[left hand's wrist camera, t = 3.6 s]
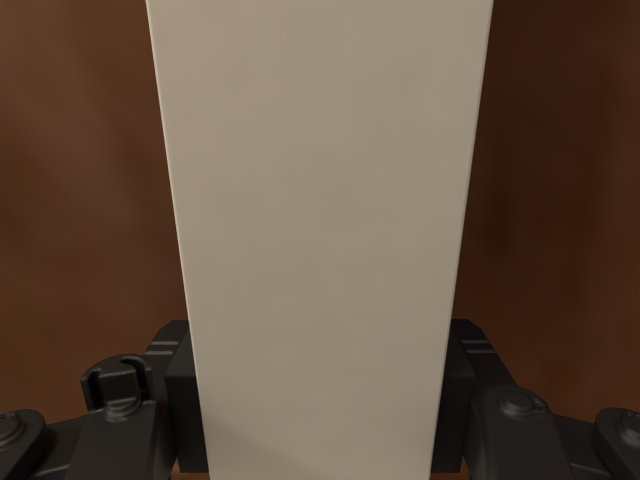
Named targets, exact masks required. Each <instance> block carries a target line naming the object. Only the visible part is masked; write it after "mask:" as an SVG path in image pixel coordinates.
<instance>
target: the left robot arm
mask: <svg viewBox="0 0 640 480" xmlns="http://www.w3.org/2000/svg"><path fill="white" fill-rule="evenodd" d="M80 382H81V386H82V390H83V394H84V397H85V401H86V405H87V409H88V415H85V416H82V417H78V418H75V419H71V420H66V421H62V422H58V423H53V424H49V425H46V423H45V420H44V417H43V415H41V414H40V413H39V412H38V411H35V410H29V409H23V410H16V411H11V412H8V413H5V414H2V415H0V480H171V471H172V468H173V466H174V463H175V460H176V458H177V456H178V462H179V468H180V473H209V467H208V460H207V452H206V445H205V437H204V430H203V422H202V415H201V407H200V400H199V393H198V385H197V378H196V370H195V363H194V355H193V348H192V340H191V333H190V325H189V320H172V321H171V322H170V323H168V324H167V325H166V326H164V327H163V328H162V329H160V330H159V331H158V333H157V334H156V336H155V337H154V339H153V340H152V342H151V345H149V347H148V348H147V350H146V351H145V355H143V356H141V355H137V354H121V355H117V356H113V357H109V358H107V359H105V360H102V361H100V362H98V363H96V364H95V365H93V366H92V367H91V368H89V369H88V370H87V371H86V372H85V373H84V375H83V376H82V377H81V379H80ZM462 455H463V456H464V459H465V462H466V464H467V467H468V470H469V472H470V474H469V480H640V413H637V412H634V411H631V410H629V409H622V408H615V407H613V408H607V409H603V410H601V411H600V412H599V413H598V414H597V416H596V419H595V422H594V423H589V422H585V421H581V420H576V419H572V418H568V417H564V416H560V415H557V414H554V413H552V411H551V410H550V408H549V407H548V405H547V404H546V402H545V401H543V400H542V399H541V398H540V397H539V396H537V395H536V394H534V393H532V392H531V391H529V390H527V389H525V388H521V387H518V385H517V384H516V382H515V381H514V379H513V378H512V376H511V375H510V373H509V371H508V370H507V368H506V367H505V365H504V364H503V362H502V361H501V359H500V358H499V356H498V354H497V353H495V350H494V348H493V347H492V345H491V344H490V343H489V341H488V339H487V337H486V336H485V334H484V333H483V331H482V330H481V329H480V328H479V327H477V326H476V325H475V324H473V323H472V322H471V321H469V320H468V319H451V322H450V330H449V337H448V345H447V352H446V360H445V367H444V375H443V382H442V390H441V397H440V405H439V412H438V420H437V427H436V435H435V442H434V450H433V457H432V465H431V472H430V473H460V467H461V461H462Z"/></svg>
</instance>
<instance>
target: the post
mask: <svg viewBox="0 0 640 480" xmlns="http://www.w3.org/2000/svg"><path fill="white" fill-rule="evenodd" d="M146 5H147V12H148V19H149V27H150V34H151V42H152V49H153V57H154V64H155V72H156V79H157V87H158V94H159V102H160V109H161V116H162V124H163V131H164V139H165V146H166V154H167V161H168V169H169V176H170V184H171V191H172V199H173V206H174V213H175V221H176V228H177V236H178V243H179V251H180V258H181V266H182V273H183V281H184V288H185V296H186V303H187V310H188V318H189V325H190V333H191V340H192V348H193V355H194V363H195V370H196V378H197V385H198V393H199V400H200V407H201V415H202V422H203V430H204V437H205V445H206V452H207V460H208V467H209V475H210V480H430V472H431V465H432V457H433V450H434V442H435V435H436V427H437V420H438V412H439V405H440V397H441V390H442V382H443V375H444V367H445V360H446V352H447V345H448V337H449V330H450V322H451V315H452V307H453V300H454V292H455V285H456V277H457V270H458V262H459V255H460V247H461V240H462V232H463V225H464V217H465V210H466V203H467V195H468V188H469V180H470V173H471V165H472V158H473V150H474V143H475V135H476V128H477V120H478V113H479V105H480V98H481V90H482V83H483V75H484V68H485V60H486V53H487V45H488V38H489V30H490V23H491V15H492V8H493V0H146Z"/></svg>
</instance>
